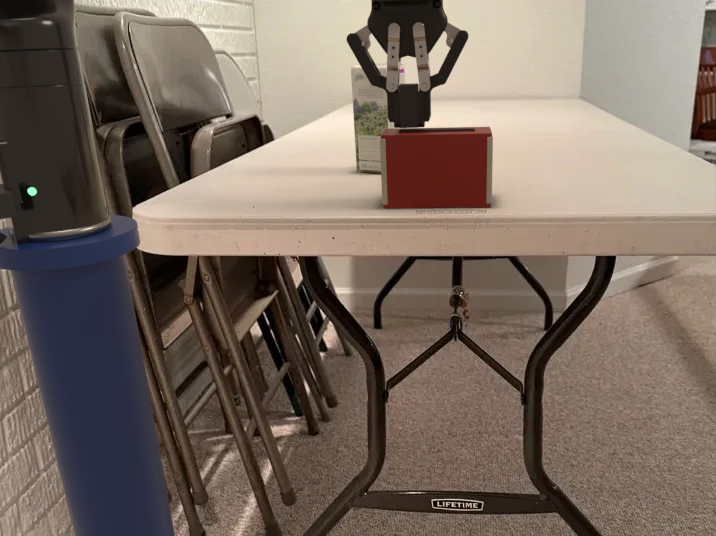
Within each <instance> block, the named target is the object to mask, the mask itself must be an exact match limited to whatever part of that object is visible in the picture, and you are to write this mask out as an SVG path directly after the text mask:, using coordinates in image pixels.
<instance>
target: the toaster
mask: <svg viewBox="0 0 716 536" xmlns="http://www.w3.org/2000/svg"><path fill="white" fill-rule="evenodd" d="M493 151H494V136H493V132H492V129H491V126H457V127H455V126H453V127H418V128H396V129H386V130H385V131H384V132H383V133H382V134H381V139H380V156H381V173H380V178H381V179H380V181H381V182H380V183H381V204H382V205H383V207H382V208H383V209H417V208H418V209H428V208H429V209H433V208H491V207H492V204H493V161H494V159H493V158H494V157H493V153H494V152H493Z"/></svg>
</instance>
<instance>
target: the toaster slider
mask: <svg viewBox="0 0 716 536" xmlns="http://www.w3.org/2000/svg"><path fill="white" fill-rule="evenodd" d="M418 91H419V82H418V83H416V82H415V83H405V84H400V85H399V111H400V128H419V127H418V96H417V93H418Z"/></svg>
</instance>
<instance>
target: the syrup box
mask: <svg viewBox="0 0 716 536" xmlns="http://www.w3.org/2000/svg"><path fill="white" fill-rule="evenodd" d="M375 64H376V66H377V68H378V70H379V71H380V73H381V75H383V76H386V77H387V63H375ZM350 74H351V75H350V77H351V78H350V79H351V94H352V96H351V97H352V111H353V112H352V113H353V129H354V146H355V147H354V148H355V163H356V172H358V173H359V172H360V173H371V174H373V173H374V174H381V156H380V139H381V134H382V133H383V132H384V131H385V130H386V129H396V128H394V122H389V119H388V108H387V93H386V91H385V90H384V89H382V88H379V87H376V86H373V85H371V83H370V82H369V80H368V78H367V76H366V75H365V73H364V71H363V69H362V68H361V66H360V64H356V65H353V66H350ZM400 84H406V67H405V64H404V63H401V67H400V80H399V85H400Z"/></svg>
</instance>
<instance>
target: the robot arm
mask: <svg viewBox="0 0 716 536" xmlns="http://www.w3.org/2000/svg"><path fill="white" fill-rule="evenodd" d="M370 2H371V9H370V14H369V16H368V18H367V23H366V25H364V26H363V27H362V28H360V29H358V30H357V31H356V32H350V33H348V34H347V36H346V43H347V44H348V46H349V48H350V50H351V52H352V53H353V55H354V58H355V59H356V61H357V63H358V65H360V66H361V68H362V69H363V71H364V73H365V75H366V76H367V78H368V80H369V82H370V83H371V85H373V86H376V87H379V88H382V89H384V90H385V91H386V93H387V108H388V119H389V122H394V128H400V111H399V80H400V67H401V64H402V58H405V57H411V58H415V62H416V68H417V69H416V70H417V78H418V86H419V91H418V93H417V96H418V128H426V123H429V122H430V119H431V117H432V94H431V93H432V91H433V89H435V88H437V87H439V86H443V85H445V84H446V83H447V82H448V79H449V77H450V76H451V74H452V71H453V70H454V68H455V66H456V63H457V61H458V59H459V58H460V55H461V54H462V51H463V49H464V48H465V45H466V44H467V42H468V40H469V33H468V31H467V30H465V29H460V28H458V27H457V26H455V25H453V24H451V23H449V19H448V16H447V14H446V13H445V10H444V0H370ZM76 30H77V29H76V6H75V0H0V220H4V219H5V223H6V227H7V228H8V232H9V234H10V235H11V238H12V239H14V240H15V242H16V243H17V244H24V243H32V242H56V241H64V240H71V239H78V238H82V237H87V236H91V235H95V234H98V233H101V232H103V231H105V230H107V229H109V228H110V227H111V226H112V223H111V217H110V215H111V214H110V212H109V210H110V209H109V205H108V202H107V196H106V191H105V186H104V179H103V175H102V169H101V164H100V159H99V154H98V153H99V152H98V148H97V143H96V137H95V132H94V126H93V121H92V116H91V110H90V106H89V105H90V104H89V100H88V93H87V89H86V88H87V87H86V83H85V77H84V72H83V66H82V61H81V54H80V49H78V48H79V44H78V39H77V38H78V37H77V31H76ZM444 33H446V39H445V44H446V46H447V47H448V48H449V50H448V52H447V54H446V55H445V58H444V60H443V62H442V64H441V66H440V68H439V70H438V71H437V73H435V74H432V75H431V65H430V56H429V55H430V53H431V52H432V51H433V49H434V47H435V46H436V44H437V43H438V41H439V40H440V38H441V37H442V35H443V34H444ZM371 35H372V36H373V37H374V39H375V40H376V42H377V43H378V45H379V46H380V47H381V48H382V50H383V52H384V53H385V54H386V55H387V56H386V64H387V77H386V76H383V75H381V73H380V71H379V70H378V68H377V66H376V64H377V63H376V62H375V61H374V58H373V57H372V56H371V53H370V52H369V49H370V48H371V46H372V42H371V40H370V39H371ZM6 238H7V236H5V235H4V234H2V233H1V232H0V244H1V243H2V242H3V241H4V240H5V239H6Z"/></svg>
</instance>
